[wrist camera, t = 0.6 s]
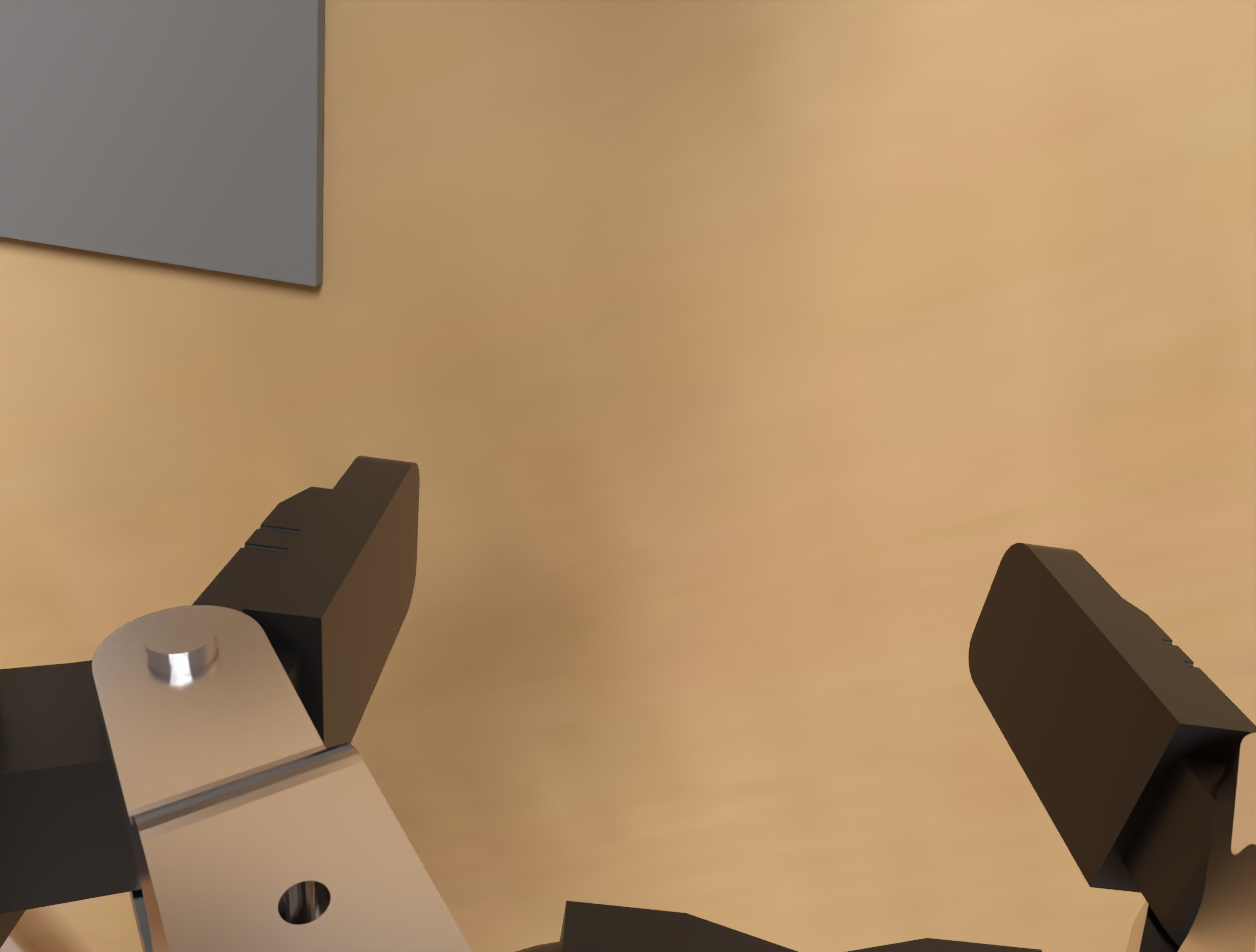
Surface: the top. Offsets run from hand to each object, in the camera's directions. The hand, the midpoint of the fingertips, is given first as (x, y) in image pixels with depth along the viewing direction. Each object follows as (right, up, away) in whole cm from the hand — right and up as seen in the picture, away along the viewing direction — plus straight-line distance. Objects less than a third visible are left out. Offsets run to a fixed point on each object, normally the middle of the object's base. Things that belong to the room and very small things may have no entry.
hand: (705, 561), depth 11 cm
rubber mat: (-23, +17, +22) cm, 37 cm away
